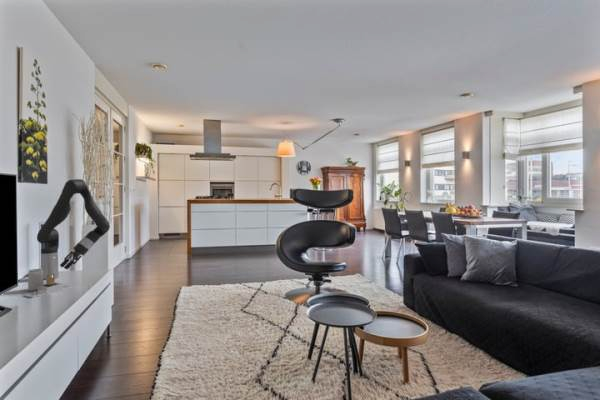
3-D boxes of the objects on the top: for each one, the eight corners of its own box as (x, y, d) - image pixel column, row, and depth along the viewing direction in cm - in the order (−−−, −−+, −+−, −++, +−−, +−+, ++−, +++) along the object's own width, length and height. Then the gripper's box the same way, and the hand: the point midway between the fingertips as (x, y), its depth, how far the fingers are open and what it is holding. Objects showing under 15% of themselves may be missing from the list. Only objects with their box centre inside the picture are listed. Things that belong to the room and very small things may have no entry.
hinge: (24, 296, 200) (23, 289, 200) (66, 285, 220) (66, 279, 220) (33, 298, 196) (32, 290, 196) (75, 287, 216) (74, 280, 216)
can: (45, 289, 213) (44, 269, 213) (29, 292, 208) (28, 271, 207) (42, 287, 218) (41, 267, 218) (27, 289, 213) (26, 269, 212)
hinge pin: (45, 292, 207) (44, 275, 207) (52, 290, 211) (51, 273, 211) (49, 292, 206) (48, 275, 205) (56, 290, 209) (55, 274, 209)
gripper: (75, 241, 224) (54, 262, 215) (82, 243, 214) (61, 265, 206) (84, 248, 228) (64, 269, 220) (92, 251, 218) (72, 273, 210)
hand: (63, 267), depth 213 cm, fingers open, 8 cm apart
